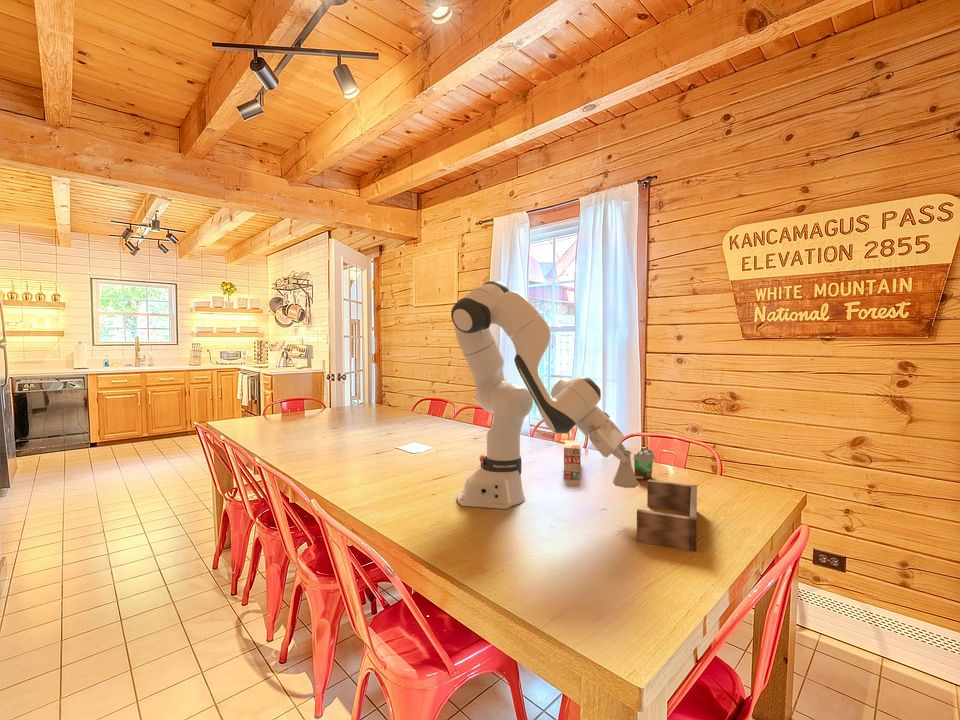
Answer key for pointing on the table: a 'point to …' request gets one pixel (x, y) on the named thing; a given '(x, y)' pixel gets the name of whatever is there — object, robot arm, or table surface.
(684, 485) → the u-shaped enclosure
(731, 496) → the table surface
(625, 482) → the flask
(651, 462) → the food container
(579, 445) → the stack of blocks
